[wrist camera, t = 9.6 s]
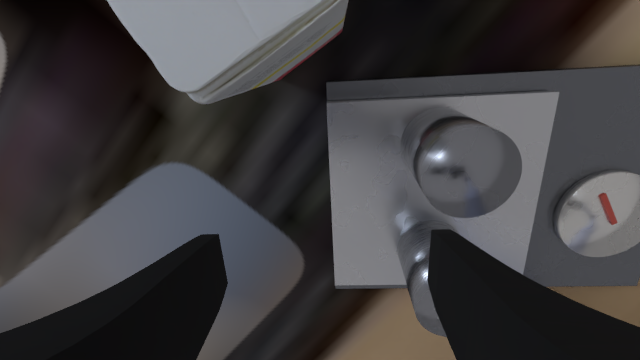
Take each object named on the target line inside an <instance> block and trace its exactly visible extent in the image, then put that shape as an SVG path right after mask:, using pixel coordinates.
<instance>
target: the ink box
mask: <svg viewBox="0 0 640 360" xmlns="http://www.w3.org/2000/svg"><path fill="white" fill-rule="evenodd" d="M107 2H108V3H109V5H110V6H111V8H112V9H113V11H114V12H115V14H116V15H117V17H118V18H119V20H120V21H121V22H122V24H123V25H124V26H125V28H126V29H127V30H128V32H129V33H130V34H131V36H132V37H133V39H134V40H135V41H136V42H137V43H138V45H139V46H140V47H141V48H142V49H143V50H144V51H145V52H146V53H147V54H148V56H149V57H150V59H151V60H152V61H153V63H154V65H155V66H156V68H157V69H158V71H159V72H160V74H161V75H162V76H163V78H164V79H165V80H166V82H167V83H168V84H169V85H170V86H172V87H173V88H175V89H176V90H178V91H182V92H186V93H187V94H188V95H189V97H190V98H191V99H192V100H194V101H195V102H197V103H200V104H210V103H213V102H217V101H219V100H222V99H225V98H228V97H231V96H234V95H237V94H240V93H244V92H246V91H249V90H251V89H254V88H258V87H260V86H263V85H267V84H269V83H272V82H275V81H278V80H281V79H282V78H283V77H284V76H286V75H287V74H288V73H289V72H291V71H292V70H293V69H295V68H296V67H297V66H299V65H300V64H301V63H303V62H304V61H305V60H307V59H308V58H309V57H311V56H312V55H313V54H314V53H316V52H317V51H318V50H320V49H321V48H322V47H324V46H325V45H326V44H327V43H329V42H330V41H331V40H333V39H334V38H335V37H336V36H338V35H339V34H340V33H341V32H342V30H343V24H344V20H345V13H346V9H347V5H348V0H107Z"/></svg>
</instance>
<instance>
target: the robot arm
mask: <svg viewBox="0 0 640 360" xmlns="http://www.w3.org/2000/svg"><path fill="white" fill-rule="evenodd" d="M427 281H428V285H429V289H430V293H431V296H432V300H433V303H434V307H435V310H436V312H437V315H438V317H439V319H440V322H441V324H442V327H443V329H444V331H445V334H446V336H447V338H448V341H449V343H450V345H451V348H452V350H453V352H454V355H455V357H456V359H457V360H640V327H637V326H635V325H632V324H629V323H627V322H624V321H621V320H619V319H616V318H614V317H611V316H609V315H606V314H604V313H602V312H599V311H597V310H594V309H592V308H589V307H587V306H585V305H582V304H580V303H578V302H576V301H573V300H571V299H569V298H567V297H565V296H563V295H561V294H559V293H557V292H555V291H553V290H551V289H549V288H547V287H544V286H543V285H541V284H539V283H537V282H535V281H533V280H531V279H529V278H528V277H526V276H524V275H523V274H521V273H519V272H517V271H516V270H514V269H512V268H510V267H509V266H507V265H505V264H504V263H502V262H501V261H499V260H497V259H496V258H494V257H493V256H491V255H490V254H488V253H486V252H485V251H483V250H482V249H480V248H479V247H477V246H476V245H474V244H473V243H471V242H470V241H468V240H467V239H465V238H464V237H462V236H461V235H459V234H458V233H456V232H454V231H453V230H451V229H434V230H431V240H430V253H429V266H428V279H427ZM227 284H228V282H227V276H226V271H225V266H224V260H223V255H222V250H221V245H220V239H219V234H207V235H200V236H198V237H196V238H194V239H192V240H191V241H189V242H187V243H185V244H183V245H182V246H180V247H179V248H177V249H175V250H174V251H172V252H171V253H169V254H167V255H166V256H164V257H162V258H161V259H159V260H158V261H156V262H154V263H153V264H151V265H149V266H148V267H146V268H144V269H142V270H141V271H139V272H137V273H135V274H134V275H132V276H130V277H129V278H127V279H125V280H123V281H122V282H120V283H118V284H116V285H114V286H112V287H110V288H108V289H107V290H104V291H103V292H100V293H98V294H96V295H94V296H92V297H90V298H88V299H86V300H83V301H81V302H79V303H77V304H74V305H72V306H70V307H67V308H65V309H63V310H60V311H58V312H55V313H53V314H50V315H48V316H46V317H43V318H41V319H38V320H36V321H33V322H31V323H28V324H25V325H23V326H20V327H17V328H14V329H12V330H9V331H6V332H3V333H0V360H196V359H197V356H198V355H199V352H200V350H201V348H202V346H203V344H204V342H205V340H206V338H207V335H208V333H209V331H210V329H211V327H212V325H213V323H214V321H215V319H216V316H217V314H218V312H219V310H220V307H221V304H222V301H223V298H224V294H225V290H226V287H227Z"/></svg>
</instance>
